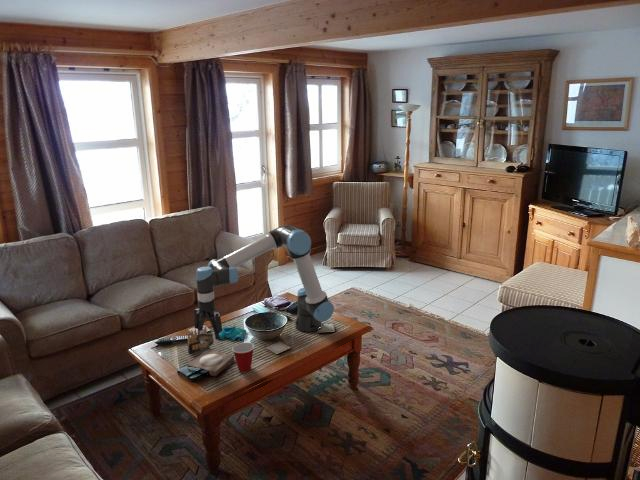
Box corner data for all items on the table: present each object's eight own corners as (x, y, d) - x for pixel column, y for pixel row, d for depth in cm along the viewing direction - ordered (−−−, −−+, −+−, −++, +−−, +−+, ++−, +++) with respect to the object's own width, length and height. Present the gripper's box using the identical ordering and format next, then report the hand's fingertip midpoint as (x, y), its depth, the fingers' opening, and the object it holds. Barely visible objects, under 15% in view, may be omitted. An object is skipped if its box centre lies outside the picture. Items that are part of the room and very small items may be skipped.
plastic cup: (248, 360, 238) (247, 339, 235) (260, 369, 230) (258, 347, 227) (229, 368, 232) (227, 345, 229) (240, 377, 224) (238, 354, 220)
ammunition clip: (189, 353, 246) (187, 332, 243) (188, 352, 248) (186, 330, 244) (209, 347, 252) (207, 326, 248) (207, 346, 253) (206, 325, 250)
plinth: (234, 360, 239) (234, 354, 238) (215, 376, 225) (215, 370, 224) (207, 354, 245) (207, 348, 244) (187, 369, 231) (187, 364, 230)
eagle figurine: (205, 337, 237) (192, 341, 229) (212, 327, 234) (199, 331, 226) (215, 348, 234) (201, 353, 226) (221, 338, 232) (208, 343, 224)
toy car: (243, 341, 259) (242, 330, 257) (210, 340, 260) (209, 329, 258) (247, 332, 269) (247, 321, 267) (216, 331, 270) (215, 320, 269)
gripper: (228, 299, 225) (231, 343, 232) (193, 293, 233) (197, 336, 239) (219, 305, 219) (222, 350, 225) (183, 299, 226) (187, 343, 232)
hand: (209, 343), depth 232 cm, fingers closed on eagle figurine, 7 cm apart
